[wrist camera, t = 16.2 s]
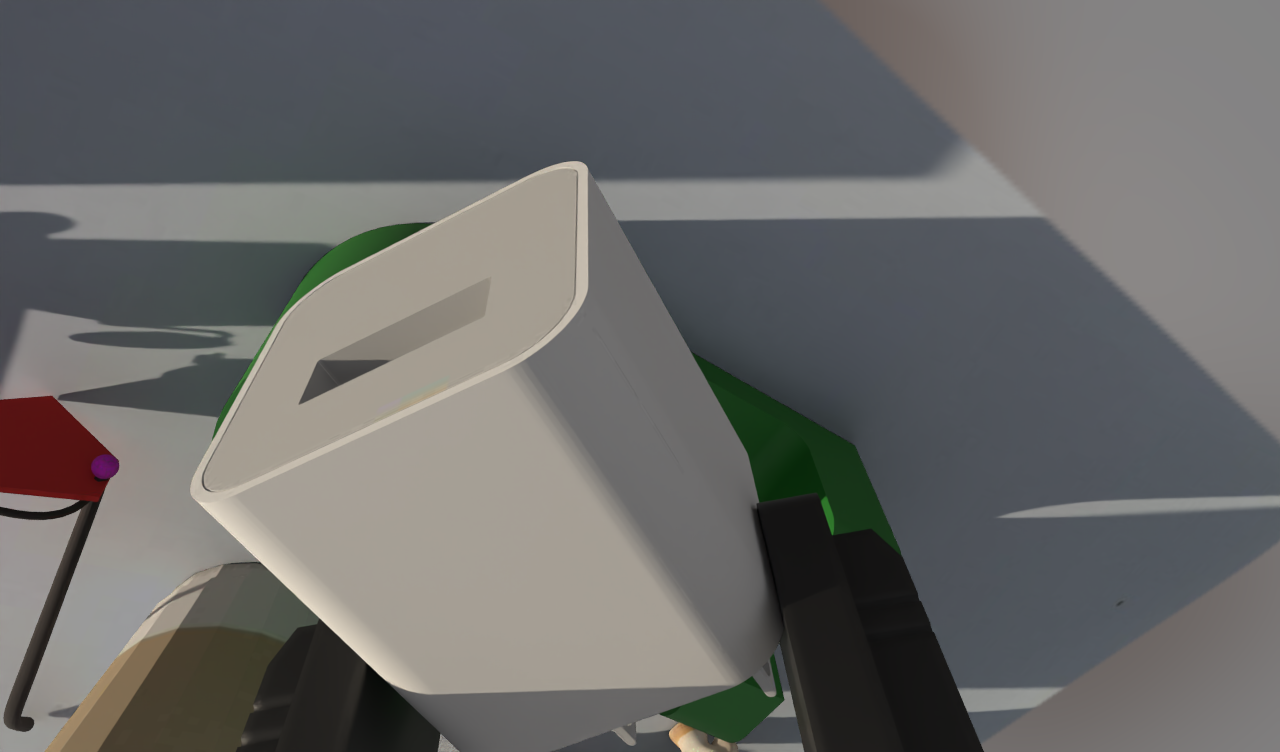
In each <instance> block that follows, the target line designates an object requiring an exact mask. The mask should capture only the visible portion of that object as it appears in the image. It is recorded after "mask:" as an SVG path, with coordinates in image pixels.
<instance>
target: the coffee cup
mask: <svg viewBox="0 0 1280 752" xmlns="http://www.w3.org/2000/svg"><path fill="white" fill-rule="evenodd" d="M318 620H319V617H318V616H317V615H316V614H315V613H314V612H313V611H312V610H311V609H309V608H308V607H307V606H306V605H305V604H304V603H303V602H302V601H301V600H300V599H299V598H298V597H297V596H296V595H295V594H294V593H293V592H292V591H291V590H289V589H288V588H287V587H286V586H285V585H284V584H283V583H282V582H281V581H280V580H279V579H278V578H277V577H276V576H275V575H274V574H273V573H272V572H271V571H269V570H268V569H267V568H266V567H265V566H264V565H263V564H258V563H244V564H224V565H221V566H217V567H214V568H211V569H208V570H205V571H202V572H198V573H196V574H194V575H193V576H192V577H190V578H189V579H188V580H186V581H185V582H183V583H182V584H181V585H179V586H178V587H176V589H175V590H174V591H173V593H172V594H170V595H169V596H168V597H166V598H165V599H163V600H162V601H161V602H159V603H158V604H157V605H156V607H155V608H154V609H153V611H152V612H151V613H150V615H149V616H148V617H147V618H146V620H145V621H144V622H143V624H142V625H141V626H140V628H139V629H138V630H137V632H136V633H135V634H134V635H133V637H132V638H131V639H130V641H129V642H128V643H127V645H126V646H125V647H124V649H123V650H122V651H121V652H120V654H119V655H118V656H117V658H116V659H115V660H114V662H113V663H112V664H111V666H110V667H109V668H108V669H107V671H106V672H105V673H104V675H103V676H102V677H101V679H100V680H99V681H98V682H97V684H96V685H95V686H94V688H93V689H92V690H91V692H90V693H89V694H88V696H87V697H86V698H85V699H84V701H83V702H82V703H81V705H80V706H79V707H78V709H77V710H76V711H75V713H74V714H73V715H72V716H71V718H70V719H69V720H68V722H67V723H66V724H65V726H64V727H63V728H62V730H61V731H60V732H59V733H58V735H57V736H56V737H55V739H54V740H53V741H52V743H51V744H50V745H49V746H48V748H47V749H46V750H45V752H236V750H237V747H241V744H242V741H241V736H242V733H243V731H244V728H245V725H246V723H247V720H248V717H249V715H250V713H253V712H254V706H253V704H254V701H255V698H256V696H257V693H258V690H259V688H260V685H261V682H262V680H263V677H264V674H265V672H266V669H267V666H268V664H269V663H270V662H271V660H272V659H273V658H274V657H275V655H276V654H277V653H278V652H279V650H280V649H281V648H282V647H283V645H284V644H285V643H286V641H287V640H288V639H289V638H290V636H291V635H292V634H293V633H294V631H295V630H296V629H297V628H298V627H303V626H309V625H315V624H317V623H318Z"/></svg>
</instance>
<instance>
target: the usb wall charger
mask: <svg viewBox="0 0 1280 752" xmlns="http://www.w3.org/2000/svg"><path fill="white" fill-rule="evenodd" d="M190 491H191V495H192V497H193V498H194V499H195V500H196V501H197V502H198V503H199V504H200V505H201V506H202V507H203V508H204V509H205V510H206V511H207V512H208V513H210V514H211V515H212V516H213V517H214V518H215V519H216V520H217V521H218V522H219V523H220V524H221V525H222V526H223V527H224V528H225V529H226V530H227V531H228V532H230V533H231V534H232V535H233V536H234V537H235V538H236V539H237V540H238V541H239V542H240V543H241V544H242V545H243V546H244V547H245V548H246V549H247V550H248V551H250V552H251V553H252V554H253V555H254V556H255V557H256V558H257V559H258V560H259V561H260V562H261V563H262V564H263V565H264V566H265V567H266V568H267V569H268V570H269V571H271V572H272V573H273V574H274V575H275V576H276V577H277V578H278V579H279V580H280V581H281V582H282V583H283V584H284V585H285V586H286V587H287V588H288V589H289V590H291V591H292V592H293V593H294V594H295V595H296V596H297V597H298V598H299V599H300V600H301V601H302V602H303V603H304V604H305V605H306V606H307V607H308V608H309V609H311V610H312V611H313V612H314V613H315V614H316V615H317V616H318V617H319V618H320V619H321V620H322V621H323V622H324V623H325V624H326V625H327V626H328V627H329V628H331V629H332V630H333V631H334V632H335V633H336V634H337V635H338V636H339V637H340V638H341V639H342V640H343V641H344V642H345V643H346V644H347V645H348V646H349V647H351V648H352V649H353V650H354V651H355V652H356V653H357V654H358V655H359V656H360V657H361V658H362V659H363V660H364V661H365V662H366V663H367V664H368V665H369V666H370V667H372V668H373V669H374V670H375V671H376V672H377V673H378V674H379V675H380V676H381V677H382V678H383V679H384V680H385V681H386V682H387V683H388V684H389V685H390V686H392V687H393V688H394V689H395V690H396V691H397V692H398V693H399V694H400V695H401V696H402V697H403V698H404V699H405V700H406V701H407V702H408V703H409V704H410V705H412V706H413V707H414V708H415V709H416V710H417V711H418V712H419V713H420V714H421V715H422V716H423V717H424V718H425V719H426V720H427V721H428V722H429V723H430V724H432V725H433V726H434V727H435V728H436V729H437V730H438V731H439V732H440V733H441V734H442V735H443V736H444V737H445V738H446V739H447V740H448V741H449V742H450V743H451V744H453V745H454V746H455V747H456V748H457V749H458V750H459V751H460V752H552V751H555V750H558V749H560V748H563V747H566V746H569V745H572V744H575V743H577V742H580V741H583V740H586V739H589V738H591V737H594V736H597V735H600V734H603V733H606V732H608V731H611V730H613V731H614V732H615V733H616V734H617V735H618V736H619V737H620V738H621V739H622V740H623V741H624V742H625V743H626V744H628V745H630V746H633V745H635V744H636V724H635V722H637V721H639V720H642V719H645V718H648V717H651V716H654V715H656V714H659V713H662V712H665V711H668V710H670V709H673V708H676V707H679V706H682V705H685V704H687V703H690V702H693V701H696V700H699V699H701V698H704V697H707V696H710V695H713V694H716V693H718V692H721V691H724V690H727V689H730V688H732V687H734V686H737V685H739V684H740V683H742V682H744V681H746V680H747V679H749V678H750V677H751V676H753V678H754V679H755V680H756V682H757V683H758V684H759V686H760V687H761V689H762V690H763V691H764V693H765V694H766V695H767V696H769V697H774V696H775V695H776V688H775V683H774V678H773V673H772V668H771V663H770V657H771V656H772V654H773V653H774V651H775V650H776V648H777V646H778V644H779V642H780V639H781V636H782V633H783V629H784V627H783V621H782V616H781V611H780V606H779V602H778V597H777V593H776V588H775V584H774V580H773V576H772V571H771V567H770V563H769V559H768V554H767V550H766V546H765V542H764V537H763V533H762V529H761V525H760V520H759V516H758V512H757V506H756V504H757V503H759V500H758V495H757V491H756V487H755V483H754V478H753V474H752V470H751V466H750V461H749V457H748V454H747V452H746V450H745V448H744V446H743V445H742V443H741V441H740V439H739V437H738V436H737V434H736V432H735V430H734V428H733V427H732V425H731V423H730V421H729V420H728V418H727V416H726V414H725V412H724V411H723V409H722V407H721V405H720V403H719V402H718V400H717V398H716V396H715V395H714V393H713V391H712V389H711V387H710V386H709V384H708V382H707V380H706V378H705V377H704V375H703V373H702V371H701V370H700V368H699V366H698V364H697V362H696V361H695V359H694V357H693V355H692V353H691V352H690V350H689V348H688V346H687V345H686V343H685V341H684V339H683V337H682V336H681V334H680V332H679V330H678V328H677V327H676V325H675V323H674V321H673V320H672V318H671V316H670V314H669V312H668V311H667V309H666V307H665V305H664V304H663V302H662V300H661V298H660V296H659V295H658V293H657V291H656V289H655V287H654V286H653V284H652V282H651V280H650V279H649V277H648V275H647V273H646V271H645V270H644V268H643V266H642V264H641V262H640V261H639V259H638V257H637V255H636V254H635V252H634V250H633V248H632V246H631V245H630V243H629V241H628V239H627V237H626V236H625V234H624V232H623V230H622V229H621V227H620V225H619V223H618V221H617V220H616V218H615V216H614V214H613V212H612V211H611V209H610V207H609V205H608V204H607V202H606V200H605V198H604V196H603V195H602V193H601V191H600V189H599V187H598V186H597V184H596V182H595V180H594V179H593V177H592V175H591V173H590V171H589V170H588V168H587V166H586V165H585V164H584V163H582V162H578V161H570V162H563V163H559V164H555V165H552V166H549V167H546V168H544V169H541V170H539V171H537V172H535V173H532V174H530V175H528V176H526V177H525V178H523V179H521V180H519V181H517V182H515V183H513V184H511V185H509V186H507V187H505V188H503V189H501V190H499V191H497V192H495V193H493V194H491V195H489V196H487V197H485V198H483V199H481V200H479V201H477V202H475V203H474V204H472V205H470V206H468V207H466V208H464V209H462V210H460V211H458V212H456V213H454V214H452V215H450V216H448V217H446V218H444V219H442V220H440V221H438V222H436V223H434V224H432V225H430V226H428V227H426V228H424V229H422V230H421V231H419V232H417V233H415V234H413V235H411V236H409V237H407V238H405V239H403V240H401V241H399V242H397V243H395V244H393V245H391V246H389V247H387V248H385V249H383V250H381V251H379V252H377V253H375V254H373V255H371V256H370V257H368V258H366V259H364V260H362V261H360V262H358V263H356V264H354V265H352V266H350V267H348V268H346V269H344V270H342V271H340V272H338V273H337V274H335V275H333V276H332V277H330V278H328V279H327V280H325V281H324V282H322V283H321V284H319V285H318V286H316V287H315V288H314V289H312V290H311V291H310V292H308V293H307V294H306V295H305V296H303V297H302V298H301V299H300V300H299V301H298V302H297V303H295V304H294V305H293V306H292V307H291V308H290V309H289V310H288V311H287V312H286V314H285V315H284V316H283V317H282V318H281V319H280V321H279V322H278V324H277V325H276V327H275V329H274V330H273V332H272V334H271V336H270V338H269V339H268V341H267V343H266V345H265V347H264V349H263V350H262V352H261V354H260V356H259V358H258V359H257V361H256V363H255V365H254V367H253V368H252V370H251V372H250V374H249V376H248V378H247V379H246V381H245V383H244V385H243V387H242V388H241V390H240V392H239V394H238V396H237V397H236V399H235V401H234V403H233V405H232V407H231V408H230V410H229V412H228V414H227V416H226V417H225V419H224V421H223V423H222V425H221V426H220V428H219V430H218V432H217V434H216V436H215V437H214V439H213V441H212V443H211V445H210V446H209V448H208V450H207V452H206V454H205V455H204V457H203V459H202V461H201V463H200V465H199V466H198V468H197V470H196V472H195V474H194V476H193V479H192V482H191V487H190Z"/></svg>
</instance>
